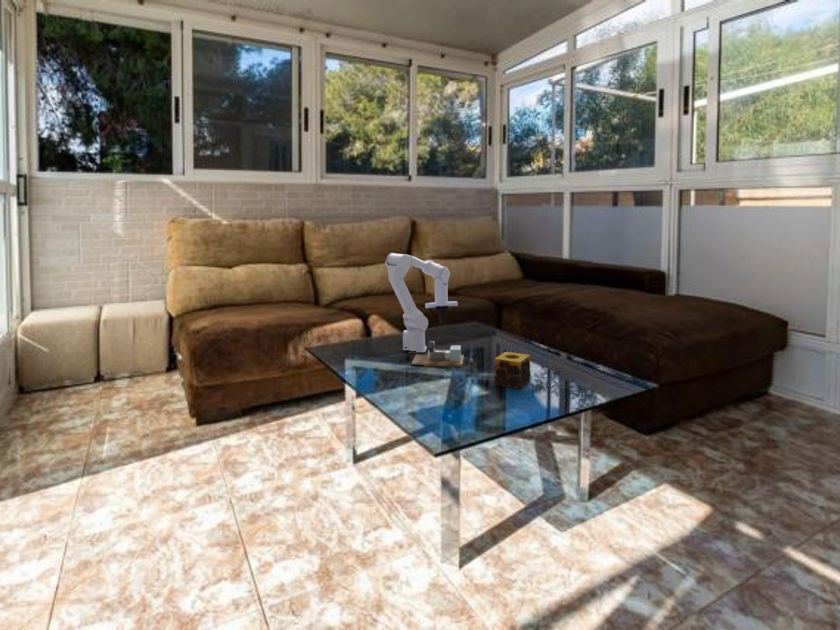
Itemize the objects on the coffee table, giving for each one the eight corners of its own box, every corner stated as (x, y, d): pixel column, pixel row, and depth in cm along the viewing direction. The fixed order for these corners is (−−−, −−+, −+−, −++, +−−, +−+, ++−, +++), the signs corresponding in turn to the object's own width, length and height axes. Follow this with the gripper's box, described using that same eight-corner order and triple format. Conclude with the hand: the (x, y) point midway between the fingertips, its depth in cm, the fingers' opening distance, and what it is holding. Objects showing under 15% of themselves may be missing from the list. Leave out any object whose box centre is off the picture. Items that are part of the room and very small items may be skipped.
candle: (520, 390, 193) (520, 362, 191) (493, 385, 199) (493, 358, 196) (531, 381, 202) (531, 354, 200) (505, 377, 207) (505, 351, 205)
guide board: (411, 365, 223) (411, 363, 223) (416, 356, 234) (415, 354, 234) (462, 366, 220) (462, 364, 220) (463, 357, 232) (463, 355, 231)
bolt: (428, 359, 226) (427, 342, 224) (428, 357, 229) (428, 340, 227) (457, 359, 224) (457, 342, 223) (458, 357, 227) (458, 340, 226)
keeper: (450, 361, 223) (449, 349, 222) (451, 357, 229) (451, 345, 228) (460, 361, 223) (459, 349, 222) (460, 357, 229) (460, 345, 228)
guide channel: (430, 360, 225) (430, 352, 224) (431, 357, 230) (431, 348, 229) (445, 361, 224) (445, 352, 224) (446, 357, 229) (446, 349, 228)
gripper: (427, 295, 244) (428, 325, 247) (459, 293, 247) (459, 323, 250) (423, 292, 251) (424, 322, 254) (455, 290, 254) (455, 319, 257)
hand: (441, 322), depth 252 cm, fingers closed
